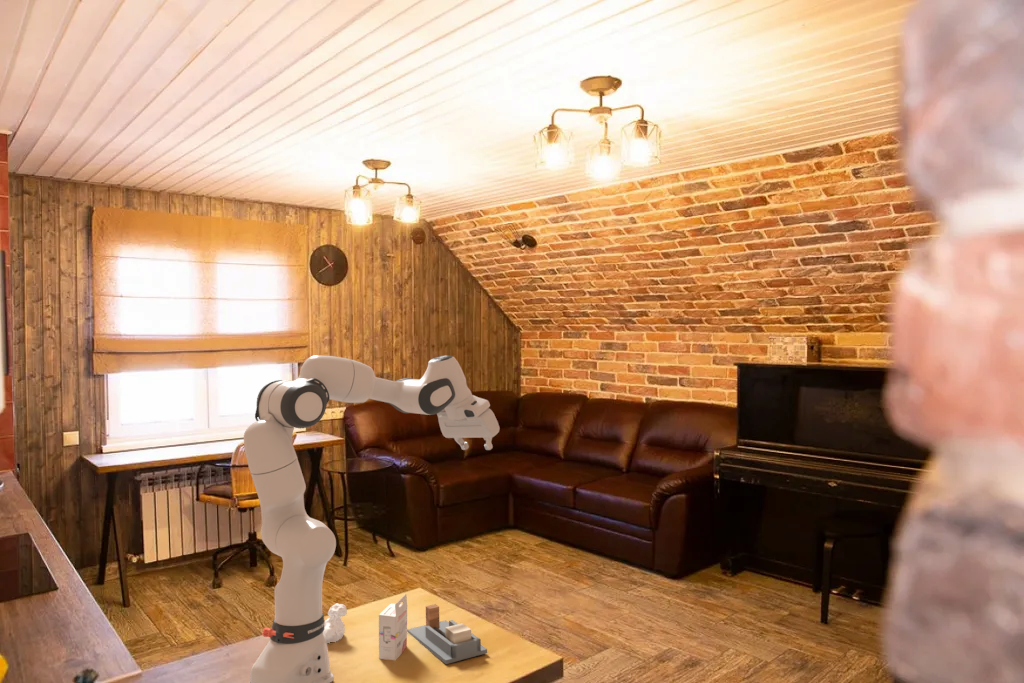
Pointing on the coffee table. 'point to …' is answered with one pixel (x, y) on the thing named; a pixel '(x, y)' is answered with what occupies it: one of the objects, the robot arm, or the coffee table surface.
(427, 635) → the grey slotted base
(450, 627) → the block
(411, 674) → the coffee table surface
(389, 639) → the ink cartridge box
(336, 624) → the bust
